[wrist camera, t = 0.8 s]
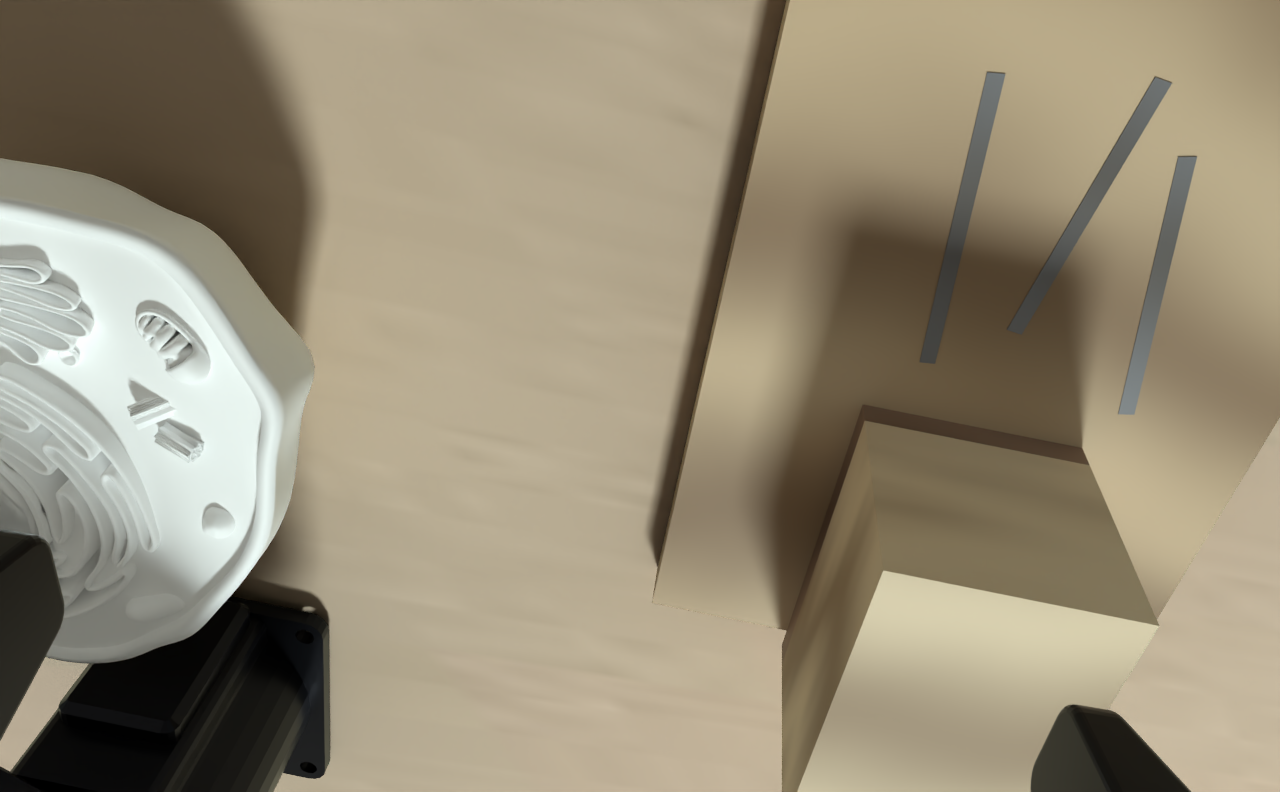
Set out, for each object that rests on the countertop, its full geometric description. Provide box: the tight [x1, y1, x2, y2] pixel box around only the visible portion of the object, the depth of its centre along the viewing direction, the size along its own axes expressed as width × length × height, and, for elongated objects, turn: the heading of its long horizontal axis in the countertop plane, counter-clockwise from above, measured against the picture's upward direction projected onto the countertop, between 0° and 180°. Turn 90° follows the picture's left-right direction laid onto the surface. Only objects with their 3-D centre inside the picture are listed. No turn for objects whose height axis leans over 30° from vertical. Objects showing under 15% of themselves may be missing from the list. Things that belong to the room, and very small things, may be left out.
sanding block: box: [782, 405, 1159, 792], centre depth 20 cm, size 7×4×5 cm, turn 171°
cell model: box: [0, 158, 315, 663], centre depth 20 cm, size 10×12×7 cm
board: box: [652, 0, 1280, 630], centre depth 20 cm, size 18×11×1 cm, turn 171°
